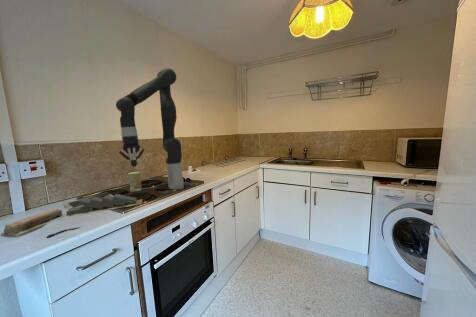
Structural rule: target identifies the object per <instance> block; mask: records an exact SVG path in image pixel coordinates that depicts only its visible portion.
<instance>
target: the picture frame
mask: <svg viewBox="0 0 476 317" xmlns="http://www.w3.org/2000/svg"><path fill="white" fill-rule="evenodd" d="M106 195H107V196H112V197H114V195H113V194H111V193H110V192H109V191H104V192H100V193H97V194H95V195H92V196H89V197H86V198H87V199H92V198H93V197H99V198H104V197H105V196H106ZM81 199H82V198H80V199H77V200H76V199H75V200H72V201H71V200H70V201H68V202H65V203H63V207H64V208H65V209H68V210H69V209H71V208H75V207H81V206H83V205H78V203H79V201H80V200H81Z"/></svg>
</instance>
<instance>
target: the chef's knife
mask: <svg viewBox="0 0 476 317" xmlns="http://www.w3.org/2000/svg"><path fill="white" fill-rule="evenodd" d="M80 228H81V226H78V227H73V228H68V229H63V230H60V231H58V232H55V233H52V234H48V235H47V236H46V238H47V239H49V238H52V237H54V236H58V235H60V234H62V233H65V232H67V231H75V230H77V229H80Z"/></svg>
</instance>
